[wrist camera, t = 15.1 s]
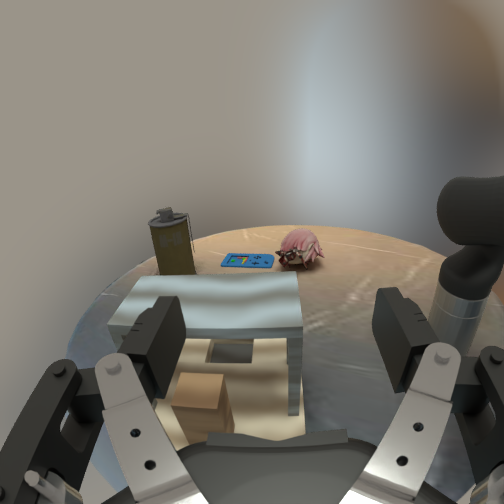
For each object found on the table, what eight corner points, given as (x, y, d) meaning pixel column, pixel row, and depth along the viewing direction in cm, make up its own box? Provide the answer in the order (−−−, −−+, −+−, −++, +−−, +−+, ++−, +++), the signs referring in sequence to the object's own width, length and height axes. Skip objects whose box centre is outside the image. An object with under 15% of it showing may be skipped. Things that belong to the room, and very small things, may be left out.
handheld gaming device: (271, 265, 84) (219, 264, 87) (271, 269, 84) (220, 267, 88) (275, 253, 91) (227, 252, 95) (275, 256, 92) (228, 255, 95)
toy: (317, 280, 73) (335, 253, 84) (304, 241, 70) (324, 218, 81) (277, 284, 81) (299, 258, 92) (263, 248, 78) (287, 226, 89)
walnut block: (199, 423, 36) (181, 372, 32) (234, 425, 36) (223, 374, 31) (193, 451, 32) (170, 405, 27) (231, 454, 31) (217, 408, 27)
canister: (161, 289, 77) (145, 218, 69) (160, 272, 87) (146, 208, 78) (200, 282, 80) (188, 210, 72) (195, 265, 89) (185, 201, 81)
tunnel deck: (178, 337, 59) (157, 251, 51) (296, 336, 57) (296, 244, 49) (135, 453, 34) (75, 362, 26) (305, 466, 31) (317, 376, 23)
